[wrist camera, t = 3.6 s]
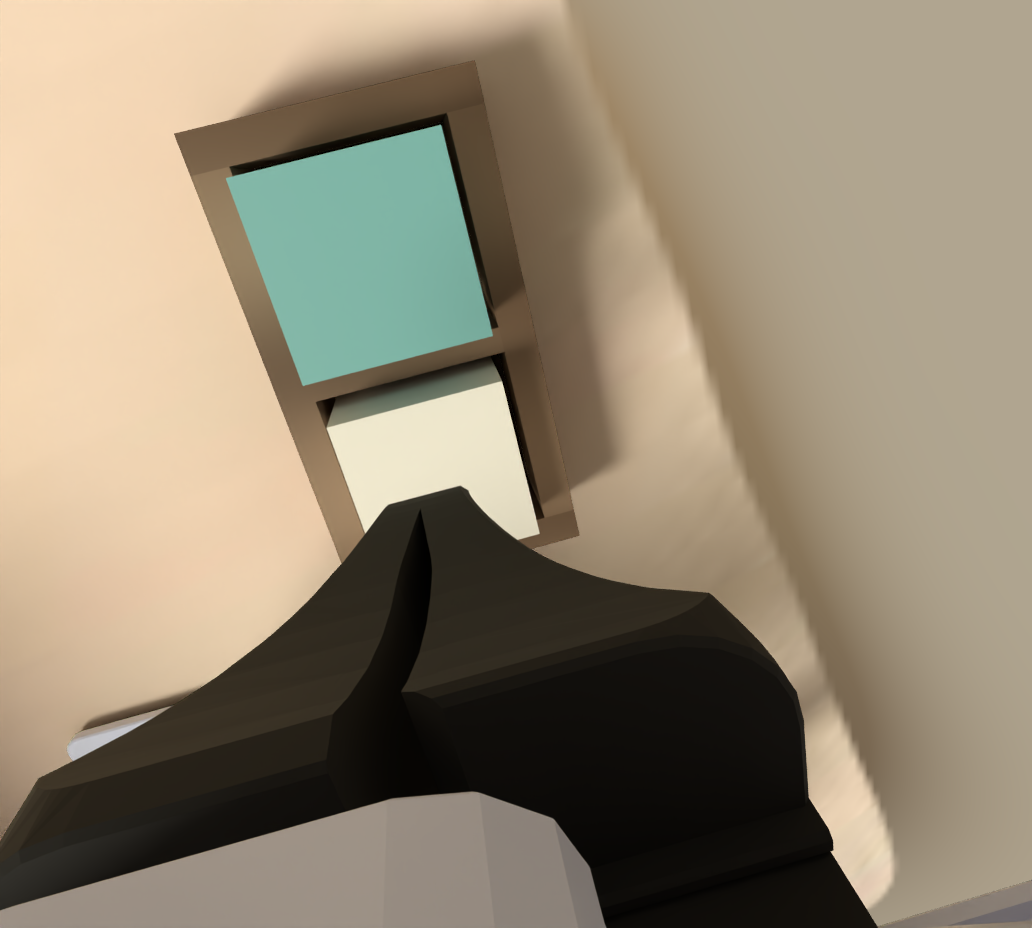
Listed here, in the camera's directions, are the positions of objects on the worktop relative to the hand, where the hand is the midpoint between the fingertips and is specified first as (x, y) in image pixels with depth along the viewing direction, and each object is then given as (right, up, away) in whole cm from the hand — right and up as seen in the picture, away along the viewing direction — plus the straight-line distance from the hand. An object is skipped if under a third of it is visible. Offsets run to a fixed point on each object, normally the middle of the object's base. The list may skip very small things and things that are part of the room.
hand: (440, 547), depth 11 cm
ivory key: (-1, +2, +7) cm, 7 cm away
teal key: (-2, +6, +4) cm, 8 cm away
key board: (-2, +5, +7) cm, 9 cm away
